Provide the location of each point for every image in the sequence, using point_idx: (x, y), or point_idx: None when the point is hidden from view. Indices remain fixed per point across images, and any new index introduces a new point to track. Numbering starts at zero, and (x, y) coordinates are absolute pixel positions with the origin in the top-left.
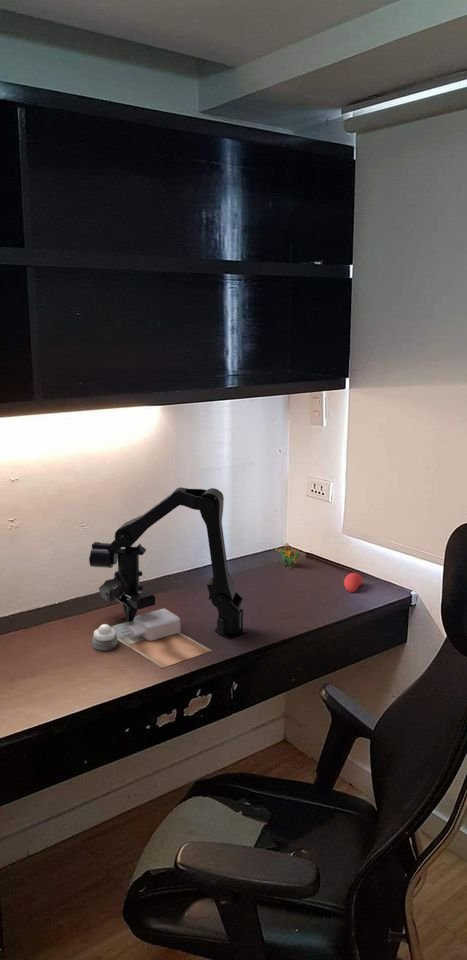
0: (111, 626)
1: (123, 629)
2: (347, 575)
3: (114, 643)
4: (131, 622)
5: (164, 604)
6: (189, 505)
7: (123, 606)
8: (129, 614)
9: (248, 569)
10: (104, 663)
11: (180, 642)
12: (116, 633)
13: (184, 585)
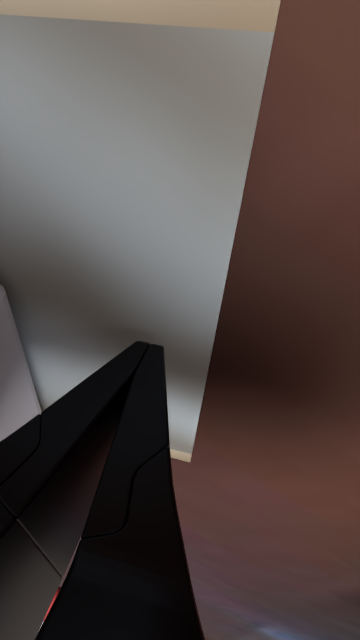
0: (244, 182)
1: (84, 226)
2: (45, 616)
3: None
4: (176, 361)
5: (246, 537)
6: None
7: (122, 510)
8: (64, 402)
9: (243, 636)
10: None
11: None
12: (15, 79)
13: (314, 613)
